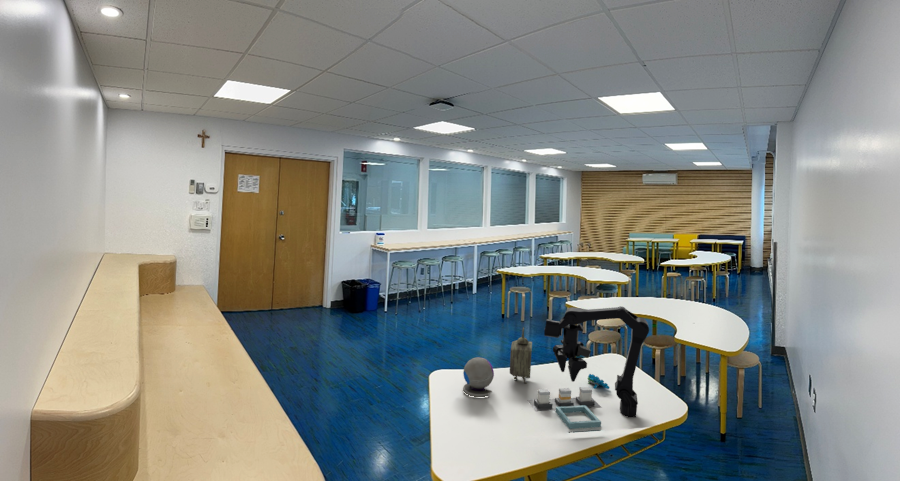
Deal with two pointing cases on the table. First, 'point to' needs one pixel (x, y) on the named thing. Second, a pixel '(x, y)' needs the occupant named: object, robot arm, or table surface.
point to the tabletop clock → (521, 358)
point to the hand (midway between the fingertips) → (567, 376)
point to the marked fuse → (564, 395)
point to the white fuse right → (585, 394)
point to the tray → (578, 424)
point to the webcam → (478, 377)
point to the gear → (597, 381)
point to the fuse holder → (562, 404)
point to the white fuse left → (543, 396)
